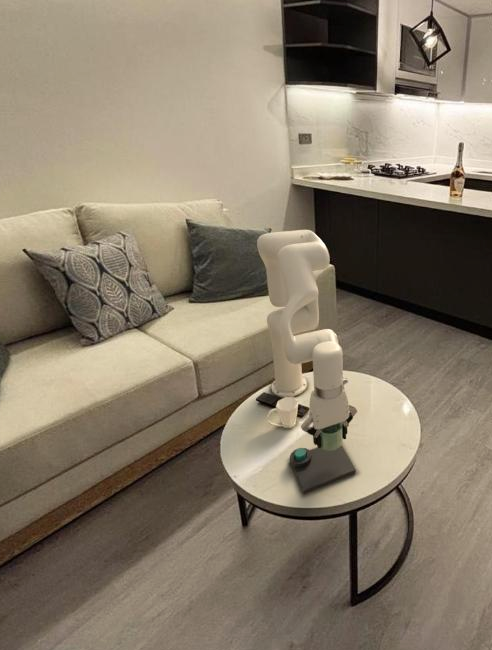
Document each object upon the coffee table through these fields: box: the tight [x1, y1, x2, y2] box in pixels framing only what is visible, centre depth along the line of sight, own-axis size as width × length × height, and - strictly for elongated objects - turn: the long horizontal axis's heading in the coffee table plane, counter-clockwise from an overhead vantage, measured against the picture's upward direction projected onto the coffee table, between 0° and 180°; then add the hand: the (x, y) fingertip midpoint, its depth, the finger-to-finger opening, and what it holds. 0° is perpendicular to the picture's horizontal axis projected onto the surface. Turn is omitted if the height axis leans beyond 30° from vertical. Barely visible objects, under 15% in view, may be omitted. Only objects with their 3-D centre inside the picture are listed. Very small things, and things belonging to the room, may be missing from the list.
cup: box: [266, 396, 299, 429], centre depth 130 cm, size 7×10×8 cm
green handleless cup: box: [319, 422, 344, 451], centre depth 113 cm, size 7×7×6 cm
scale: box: [289, 445, 357, 495], centre depth 116 cm, size 14×16×3 cm
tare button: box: [295, 448, 306, 461], centre depth 116 cm, size 3×3×2 cm
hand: (330, 440), depth 113 cm, fingers closed on green handleless cup, 6 cm apart
